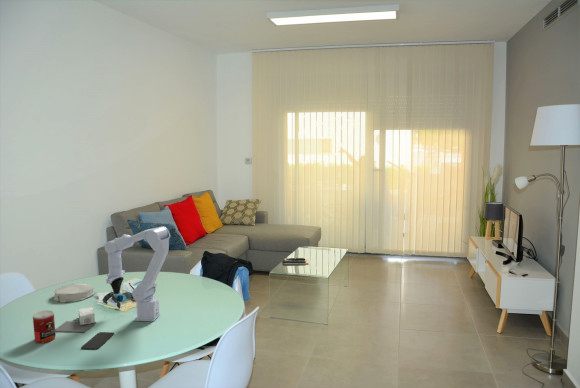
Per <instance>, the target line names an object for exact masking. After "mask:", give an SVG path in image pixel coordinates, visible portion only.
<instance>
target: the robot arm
mask: <svg viewBox="0 0 580 388" xmlns="http://www.w3.org/2000/svg"><path fill="white" fill-rule="evenodd" d="M170 238H171V233H170V231H169V228H167V227H166V226H163V225H160V226H159V227H154V228H148V229H145V230H143V231H140V232H138V233H136V234H133V235H130V234H126V233H124V234H122V235H121V237H116V238H115V237H114V239H113V240H108V241H107V242H105V243H104V250H105V252H106V253H107V263H108V274H106V277H107V278H106V279H105V281H106V282H105V283H106V285H108V284H109V285H110V287H111V289H112V291H113V294H114V295H119V294H120V292H121V287H122V284H123V281H124V277H123V276H124V275H125V272H126V270H125V269H123V266H122V265H123V264H122V262H123V261H122V254H123V250H125V249H128V248H131V247H133V245H134V243H136V242H138V241H142V240H144V242H146V243H148V245H149V246H150V247H151V249H152V251H154V252H153V256H152V258H151V259H150V262H149V264H148V267H147V269H146V271H145V274H144V276H143V278H142V280H141V281H140V282H139V283H138V284H137V286H136V287H135V288H134V289H133V290H132V293H131V295H132V298H133V299H134V301H135V302H136V317H135V318H134V319H133V321H134V322H154V321H156V319H157V318H158V317H159V316H160V315H161V314H160V302H159V300H158V299H157V298H156V299H155V298H154V295H155V294H156V290H157V285H158V284H157V282H156V280H157V278H158V276H159V274H160V271H161V270H162V266H163V265H164V263H165V261H166V258H167V256H168V253H169V250H170V249H169V248H170Z"/></svg>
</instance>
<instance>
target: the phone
mask: <svg viewBox="0 0 580 388" xmlns="http://www.w3.org/2000/svg"><path fill="white" fill-rule="evenodd" d="M113 336H115V332H109V331H106V332H105V331H99V332H97V333H96V334H95V335H93V336H92V337H91V338H90V339H89V340H87V341H86V343H84V344H83V345H82V346H81V347H80V348H81V349H80V350H88V351H89V350H90V351H91V350H92V351H93V350H94V351H95V350H97V351H98V350H99V349H100V348H102V347H103V346H104V345H105V344H106V343H107V342H108V341H109V340H110V339H111V338H113Z"/></svg>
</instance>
